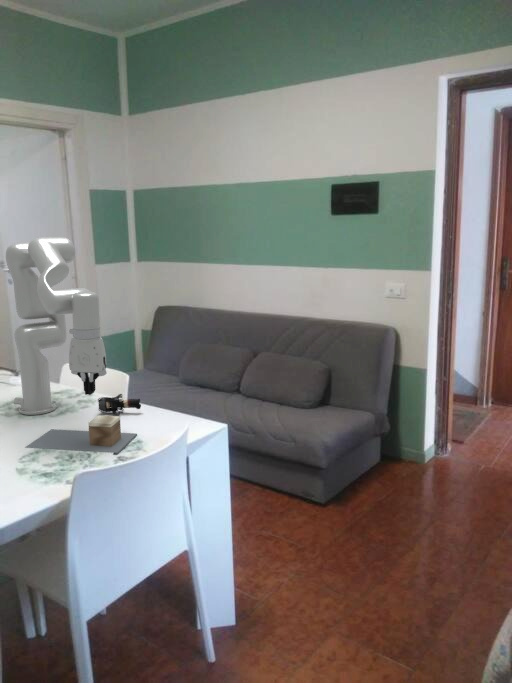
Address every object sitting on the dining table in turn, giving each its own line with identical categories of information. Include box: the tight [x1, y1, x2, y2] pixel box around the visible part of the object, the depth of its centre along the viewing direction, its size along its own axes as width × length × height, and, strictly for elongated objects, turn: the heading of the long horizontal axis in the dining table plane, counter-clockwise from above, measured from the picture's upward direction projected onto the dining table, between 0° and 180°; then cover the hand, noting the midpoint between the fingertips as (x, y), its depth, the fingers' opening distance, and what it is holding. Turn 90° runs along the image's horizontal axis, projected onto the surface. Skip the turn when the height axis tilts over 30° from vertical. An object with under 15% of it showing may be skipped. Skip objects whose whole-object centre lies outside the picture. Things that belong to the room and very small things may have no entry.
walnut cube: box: [88, 414, 122, 446], centre depth 174 cm, size 7×7×7 cm
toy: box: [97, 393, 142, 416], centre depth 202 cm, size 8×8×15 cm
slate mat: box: [24, 428, 138, 456], centre depth 176 cm, size 29×16×1 cm, turn 81°
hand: (89, 393), depth 173 cm, fingers closed
